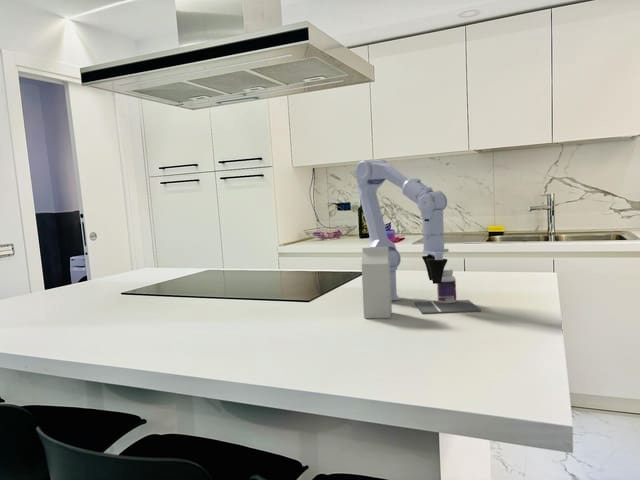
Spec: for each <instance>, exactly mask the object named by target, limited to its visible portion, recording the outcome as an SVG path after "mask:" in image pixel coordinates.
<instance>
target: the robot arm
mask: <svg viewBox="0 0 640 480" xmlns="http://www.w3.org/2000/svg"><path fill="white" fill-rule="evenodd" d="M354 174H355V180H356V182H357V193H358V195H359V200H360V204H361V207H362V212H363V216H364V220H365V223H366V228H367V231H368V235H369V239H370V245H369V246H368V247H367V248H372V247H388V249H389V258H390V278H391V301H400V297H399V295H398V293H397V271H398V267H399V266H400V264H401V261H402V260H401V254H400V252H399V250H398V249H397V247H396V243H394V242H393V241H391V240H390V238H389V237H388V234H387V229H386V226H385V221H384V219H383V214H382V210H381V206H380V203H379V200H378V199H379V198H378V196H377V191H378V189H379V188H380V187H381V186H382V185H383V184H384V182H385V181H388V182H389V183H392V184H393V185H395V186H397V187H398V188H399V189H401V191H402V194H403V196H405V197H406V198H408V199H409V200H411V201H412V202H413V203H415V204H416V205H417V208H418V210H419V211H420V216H421V219H422V232H423V233H422V240H423V250H422V253H423V254H426V255H423V256H421V258H422V260H423V262H424V264H425V269H426V272H427V275H428V279H429V281H432V284H433V285H434V284H436V285H437V284H440V283H441V281H442V275H443V270H444V269H445V267H446V265H447V262H448V259H447V258H444V254H445V253H448V252H450V251H449V250H450V249H449V248H445V232H444V231H445V230H444V225H445V224H444V210H446V208H447V205H448V199H447V196H446V195H445V194H444V193H443V192H442V191H440V190H437V191H434V190H433V188H432V187H431V186H427V185H426V184H424V183H423V182H422V180H421V179H420V178H410V179H409V178H408V177H407V176H405V175H404V174H403V173H402V172H400V171H399V170H398V169H396V168H395V167H394V166H393V165H392V163H390V162H388V161H387V160H385V159H380V160H366V159H362V160H360V161H359V162H358V163H357V165H356V167H355V169H354Z"/></svg>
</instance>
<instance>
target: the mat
mask: <svg viewBox="0 0 640 480" xmlns="http://www.w3.org/2000/svg"><path fill="white" fill-rule="evenodd" d="M414 304H415V306H416V307H417V309H418V310H419V312H420V313H421V314H422V315H425V314H427V315H428V314H450V313H451V314H452V313H453V314H455V313H474V312H478V313H479V312H481V311H482V310H481V308H479V307H478V306H477V305H476V304H474V302H472V301H471V300H469V299H459V300H458V299H456V302H455V303H448V304H444V303H439V302H438V300H437V301H436V300H435V301H434V300H428V301H414Z"/></svg>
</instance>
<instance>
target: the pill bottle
mask: <svg viewBox="0 0 640 480" xmlns="http://www.w3.org/2000/svg"><path fill="white" fill-rule="evenodd" d="M453 271H454V270H453V269H452V268H444V270H443V275H442V281H441V283H440V284H436V291H437V301H438V302H439V303H444V304H448V303H455V302H456V300H457V285H456V284H457V282H456V280H457V279H456V277H455V276H453V274H454V272H453Z"/></svg>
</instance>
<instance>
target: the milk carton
mask: <svg viewBox="0 0 640 480" xmlns="http://www.w3.org/2000/svg"><path fill="white" fill-rule="evenodd" d="M361 249H362V255H361V278H362V279H361V280H362V281H361V282H362V301H363V318H364V319H391V316H392V311H393V310H392V309H393V307H392V306H393V305H392V300H391V278H390V258H389V249H388V247H372V248H368V247H362V248H361Z"/></svg>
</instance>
